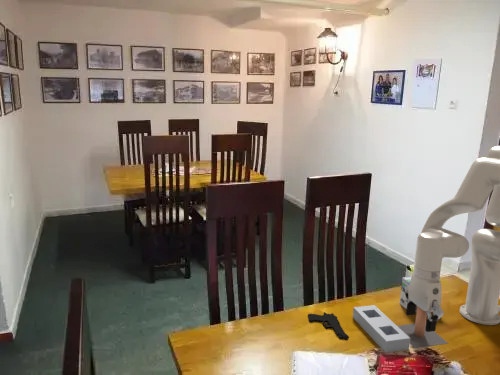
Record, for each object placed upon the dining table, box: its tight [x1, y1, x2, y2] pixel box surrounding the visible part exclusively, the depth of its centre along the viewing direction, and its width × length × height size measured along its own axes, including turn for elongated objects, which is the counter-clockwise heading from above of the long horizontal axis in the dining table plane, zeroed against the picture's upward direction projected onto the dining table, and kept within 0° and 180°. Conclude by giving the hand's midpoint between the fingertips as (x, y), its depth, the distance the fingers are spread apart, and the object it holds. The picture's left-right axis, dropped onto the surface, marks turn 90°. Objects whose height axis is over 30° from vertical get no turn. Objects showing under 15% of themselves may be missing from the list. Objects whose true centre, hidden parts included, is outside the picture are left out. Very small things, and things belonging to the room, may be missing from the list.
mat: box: [397, 323, 449, 349], centre depth 126 cm, size 12×12×1 cm
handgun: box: [307, 312, 350, 341], centre depth 130 cm, size 16×1×10 cm
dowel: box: [414, 306, 428, 337], centre depth 124 cm, size 3×3×10 cm
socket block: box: [352, 304, 411, 353], centre depth 126 cm, size 8×20×4 cm, turn 14°
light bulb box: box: [399, 276, 432, 313], centre depth 142 cm, size 11×7×11 cm, turn 102°
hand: (420, 322), depth 124 cm, fingers open, 9 cm apart
